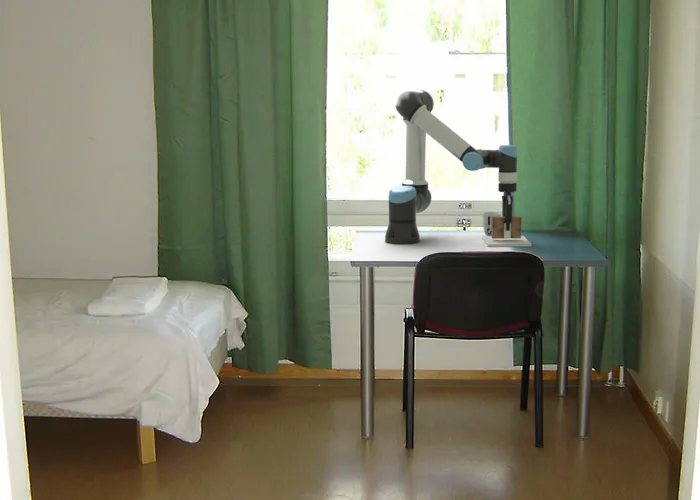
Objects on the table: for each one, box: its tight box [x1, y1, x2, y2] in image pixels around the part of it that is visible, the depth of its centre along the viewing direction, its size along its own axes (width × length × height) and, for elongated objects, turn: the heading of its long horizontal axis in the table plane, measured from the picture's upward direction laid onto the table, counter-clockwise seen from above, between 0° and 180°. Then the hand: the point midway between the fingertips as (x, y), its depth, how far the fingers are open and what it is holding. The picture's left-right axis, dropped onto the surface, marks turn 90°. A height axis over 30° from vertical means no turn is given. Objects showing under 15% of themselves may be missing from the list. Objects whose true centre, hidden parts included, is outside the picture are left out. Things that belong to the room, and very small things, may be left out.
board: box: [492, 215, 522, 239], centre depth 362 cm, size 12×3×9 cm, turn 88°
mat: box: [481, 235, 533, 248], centre depth 365 cm, size 18×20×1 cm
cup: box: [481, 211, 502, 236], centre depth 382 cm, size 8×8×10 cm
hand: (506, 237), depth 363 cm, fingers closed on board, 3 cm apart
